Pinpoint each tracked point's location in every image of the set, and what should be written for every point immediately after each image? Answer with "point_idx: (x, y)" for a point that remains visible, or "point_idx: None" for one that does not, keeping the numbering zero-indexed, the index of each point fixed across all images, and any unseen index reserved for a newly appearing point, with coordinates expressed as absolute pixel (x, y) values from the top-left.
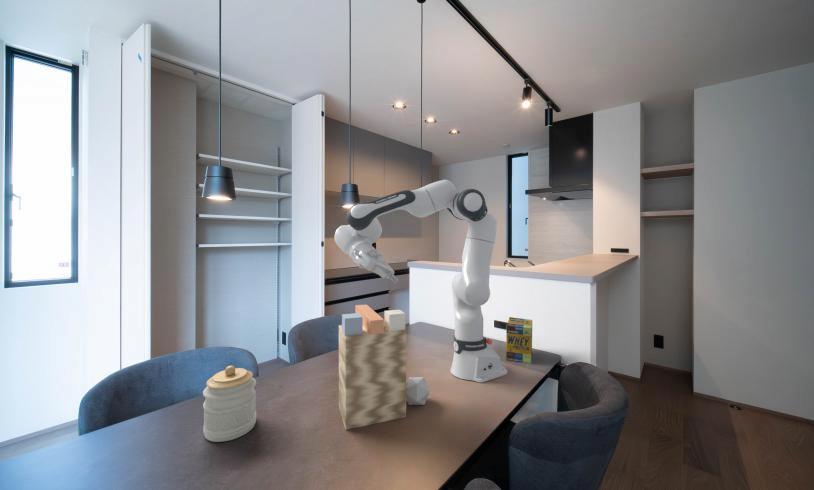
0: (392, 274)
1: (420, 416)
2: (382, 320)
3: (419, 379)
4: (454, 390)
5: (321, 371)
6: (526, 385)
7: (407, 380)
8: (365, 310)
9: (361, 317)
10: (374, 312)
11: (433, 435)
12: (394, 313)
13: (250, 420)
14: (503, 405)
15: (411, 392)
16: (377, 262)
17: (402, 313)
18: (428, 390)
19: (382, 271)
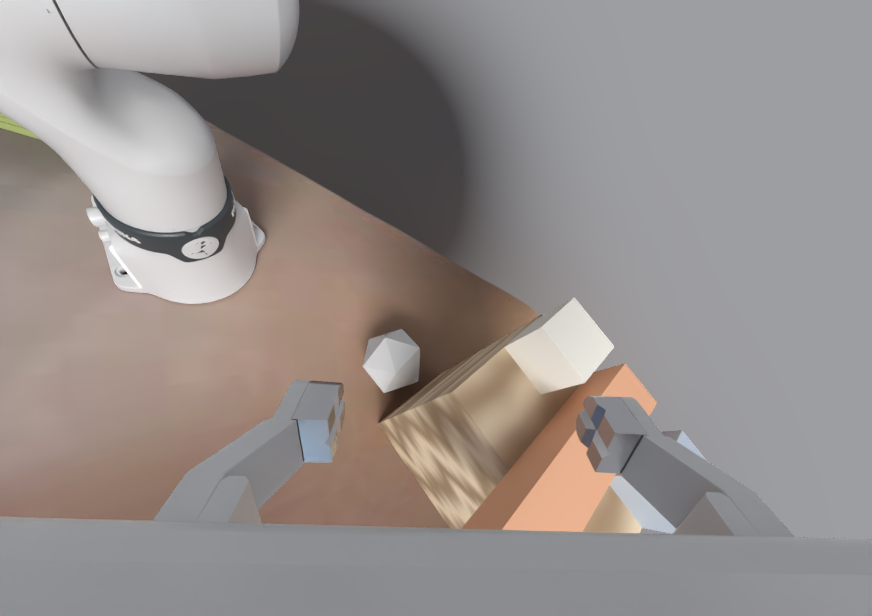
0: (233, 471)
1: (429, 349)
2: (625, 368)
3: (399, 345)
4: (315, 294)
5: None
6: (262, 160)
7: (401, 375)
8: (569, 504)
9: (683, 433)
10: (576, 438)
11: (468, 323)
12: (594, 333)
13: None
14: (355, 217)
15: (419, 363)
16: (815, 604)
17: (581, 306)
18: (402, 330)
19: (668, 439)
